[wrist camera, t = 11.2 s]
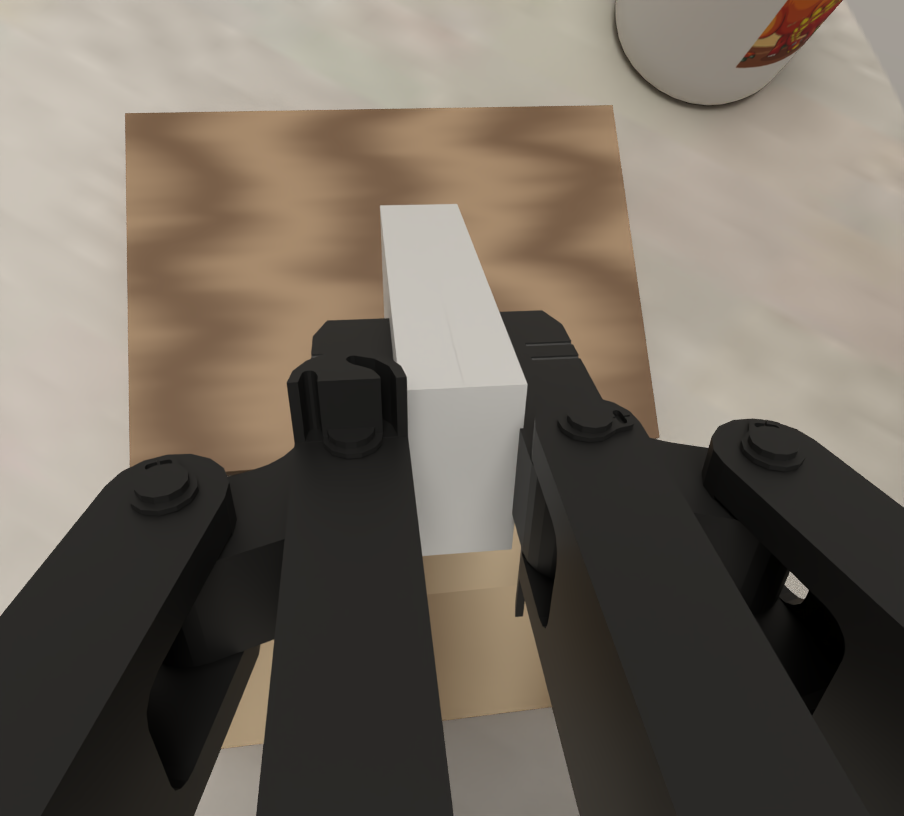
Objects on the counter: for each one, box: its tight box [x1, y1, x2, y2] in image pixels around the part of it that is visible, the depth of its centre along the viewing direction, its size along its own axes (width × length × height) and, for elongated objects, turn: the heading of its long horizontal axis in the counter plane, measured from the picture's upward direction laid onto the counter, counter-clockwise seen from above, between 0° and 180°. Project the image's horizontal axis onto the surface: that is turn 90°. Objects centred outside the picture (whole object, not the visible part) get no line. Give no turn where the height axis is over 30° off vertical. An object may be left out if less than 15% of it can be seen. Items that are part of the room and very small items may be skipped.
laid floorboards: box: [221, 523, 552, 749], centre depth 24 cm, size 18×8×2 cm, turn 95°
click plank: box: [125, 105, 659, 476], centre depth 26 cm, size 18×2×13 cm
